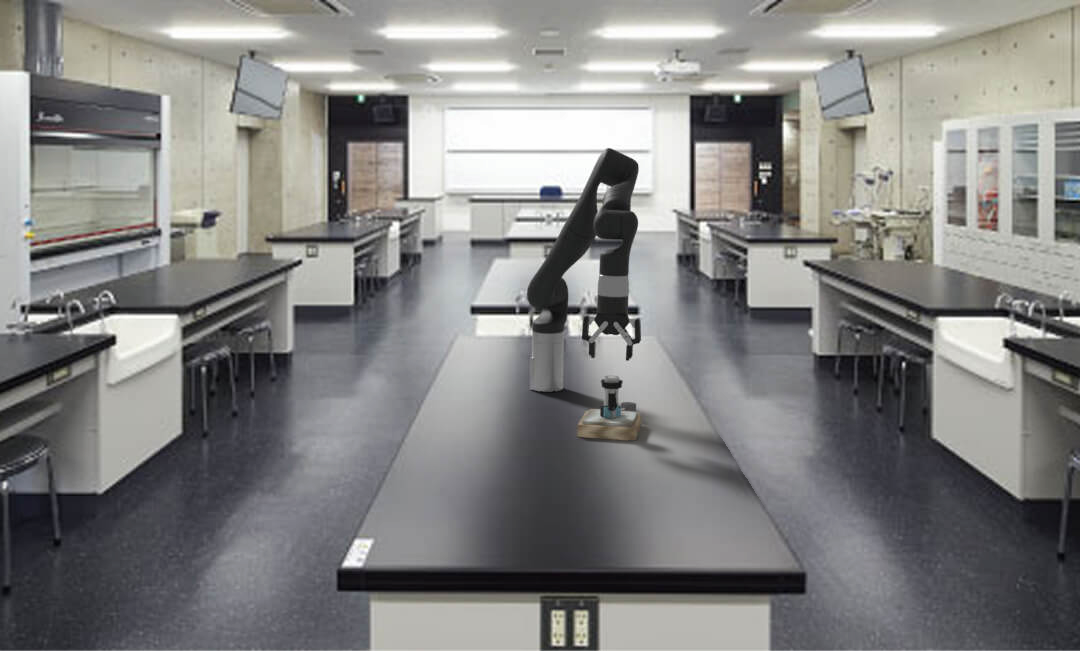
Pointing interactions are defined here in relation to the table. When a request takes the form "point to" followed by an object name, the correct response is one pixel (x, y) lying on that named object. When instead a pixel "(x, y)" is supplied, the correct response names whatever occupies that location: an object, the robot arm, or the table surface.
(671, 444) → the table surface
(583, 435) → the base block
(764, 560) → the table surface
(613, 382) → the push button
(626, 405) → the rubber stopper
